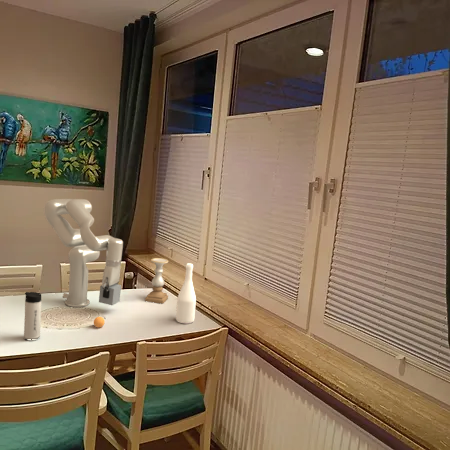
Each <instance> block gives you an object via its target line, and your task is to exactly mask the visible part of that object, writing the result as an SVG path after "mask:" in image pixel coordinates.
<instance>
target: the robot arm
mask: <svg viewBox="0 0 450 450" xmlns="http://www.w3.org/2000/svg"><path fill="white" fill-rule="evenodd" d="M92 210H93V205H92V203H91V202H90V201H89V200H88V199H86V198H85V199H84V198H54V199H49V200H48V201H45V203H44V205H43V216H44V218H45V220H46V222H47V223H48V224H49V226H51V228H52V229H53V231H54V232H55V234H56V235H57V237H58V239H59V240H60V242H61V244H62V245H63V246H64V247H66V248H71V249H70V250H69V251H68V261H69V262H68V263H69V282H68V293H66V292H65V293H63V295H62V298H63V299H66V300H65V301H64V303H65V305H66V306H68V307H73V308H79V307H80V308H81V307H86V306H89V304H90V303H91V302H90V301H91V300H90V299H88V290H89V289H88V288H89V287H88V285H89V268H88V266H87V263H91V262H94V261H97V259H99V257H100V255H101V251H106V257H105V266H104V270H103V274H102V281H101V285H102V287H103V297H104V298H109V288H110V286H111V285H113V284H119V282H120V279H121V275H120V274H121V266H122V265H121V264H122V256H123V248H124V241H123V240H122V239H120V238H117V237H113V236H112V235H108V234H104V235H103V234H102V235H98V236H97V235H95V234H94V233H93V232H92V230H91V228H90V227H92V226H93V224H94V223H95V217H93V215H92V214H91V212H92ZM62 215H69V216H70V217H71V218H72V220H73V221H74V222H75V223H76V224H77V225H78V227H79V228H74V227H72V225H71V224H70V222H69V221H68V220H67V219H66V218H65V217H63V216H62ZM107 283H108V284H109V285H108V284H107ZM106 286H108V288H107V287H106Z"/></svg>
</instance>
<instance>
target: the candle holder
mask: <svg viewBox="0 0 450 450" xmlns="http://www.w3.org/2000/svg"><path fill="white" fill-rule="evenodd" d="M150 261H151V263H154V265H155V269H154V274H155V275H154V277H153V278H152V280H151V284H152V288H151V289H152V291H150V292H149V293H148V294H147V295H146V297H145V298H144V302H146V301H147V302H148V303H153V302H154V303H155V304H160V303H161V305H163V304H165V303H166V302H167V300H168V299H169V295H168V294H167V293H166V292H164V291H163V290H164V288H163V286H164V285H165V279H164V278H163V276H162V274H163V272H164V269H163V266H164V265H165V264H168V263H169V260H168V259H167V258H161V257H154V258H151V259H150ZM154 303H153V304H154Z"/></svg>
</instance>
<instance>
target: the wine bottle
mask: <svg viewBox="0 0 450 450" xmlns="http://www.w3.org/2000/svg"><path fill="white" fill-rule="evenodd" d="M193 269H194V264H193V263H191V262H190V263H189V262H188V263H186V264H185V278H184V281H183V283H182V286H181V288H180V291H179V293H178V295H177V301H176V310H175V311H176V312H175V321H176V322H177V323H180V324H187V325H189V324H192V323H193V322H194V321H195V316H196V302H197V297H196V292H195V288H194V283H193Z"/></svg>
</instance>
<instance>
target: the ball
mask: <svg viewBox="0 0 450 450" xmlns="http://www.w3.org/2000/svg"><path fill="white" fill-rule="evenodd" d="M105 322H106V321H105V319H104V317H102V316H96V317H95V318H94V320H93V325H94V327H96V328H102V327H103V326H104V325H105Z"/></svg>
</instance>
